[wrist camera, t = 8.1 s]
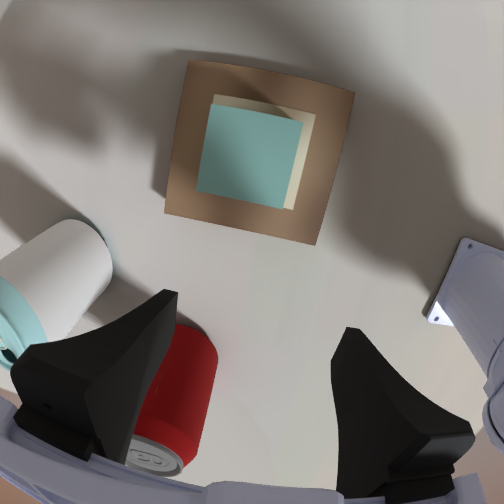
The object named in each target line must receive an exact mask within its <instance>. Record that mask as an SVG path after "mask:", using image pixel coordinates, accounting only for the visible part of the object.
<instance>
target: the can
mask: <svg viewBox="0 0 504 504" xmlns="http://www.w3.org/2000/svg"><path fill="white" fill-rule="evenodd" d="M112 270H113V268H112V260H111V256H110V253H109V250H108V248H107V246H106V244H105V242H104V241H103V239H102V238H101V237H100V235H99V234H98V233H97V232H96V231H95V230H94V229H93V228H91V227H90V226H89V225H87V224H85V223H83V222H81V221H78V220H74V219H67V220H63V221H61V222H59V223H57V224H55V225H54V226H52V227H50V228H49V229H47V230H45V231H44V232H42V233H41V234H39V235H37V236H36V237H34V238H33V239H31V240H30V241H28V242H27V243H25V244H23V245H22V246H20V247H19V248H17V249H16V250H14V251H13V252H11V253H10V254H9V255H7V256H6V257H4V258H3V259H1V260H0V366H1V367H3V368H4V369H6V370H8V371H10V369H11V367H12V365H13V364H14V363H15V362H16V360H17V359H18V358H19V357H20V356H21V354H22V353H23V352H24V351H25V350H26V349H27V348H28V346H29V345H30V344H39V343H46V342H53V341H58V340H63V339H64V338H65V336H66V335H67V334H68V333H69V331H70V330H71V329H72V328H73V327H74V325H75V324H76V323H77V322H78V321H79V319H80V318H81V317H82V316H83V315H84V313H85V312H86V311H87V310H88V309H89V308H90V306H91V305H92V304H93V303H94V302H95V301H96V299H97V298H98V297H99V296H100V295H101V294H102V292H103V291H104V290H105V289H106V288H107V287H108V285H109V283H110V281H111V278H112Z"/></svg>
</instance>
